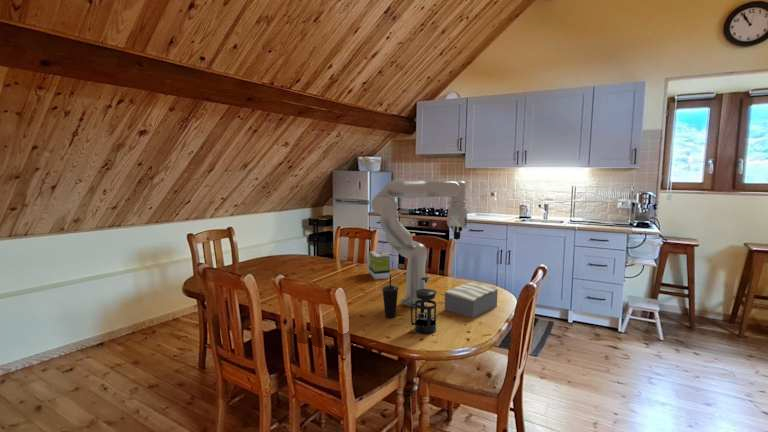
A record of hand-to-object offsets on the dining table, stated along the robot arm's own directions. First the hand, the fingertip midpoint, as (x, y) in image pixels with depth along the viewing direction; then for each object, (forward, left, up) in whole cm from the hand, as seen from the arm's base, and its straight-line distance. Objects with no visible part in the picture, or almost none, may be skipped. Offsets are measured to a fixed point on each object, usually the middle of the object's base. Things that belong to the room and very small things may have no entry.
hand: (456, 239), depth 217 cm
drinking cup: (-46, +5, -31) cm, 56 cm away
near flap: (-16, -16, -23) cm, 32 cm away
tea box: (-1, +57, -31) cm, 65 cm away
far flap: (-4, -16, -23) cm, 28 cm away
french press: (-47, -16, -31) cm, 59 cm away
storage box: (-10, -16, -31) cm, 36 cm away
